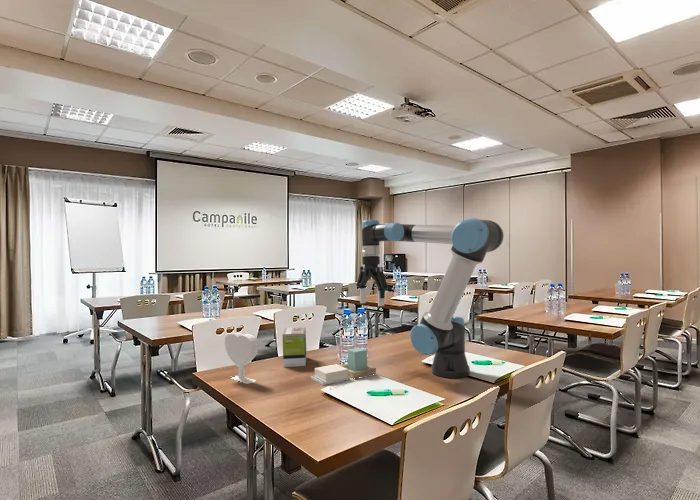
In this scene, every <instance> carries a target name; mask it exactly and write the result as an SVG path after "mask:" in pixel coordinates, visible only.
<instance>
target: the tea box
mask: <svg viewBox="0 0 700 500" xmlns="http://www.w3.org/2000/svg"><path fill="white" fill-rule="evenodd" d="M306 333H307V331H306V327H305V326H302V327H285V328H284V330H283V332H282V363H283V367H284V368H291V367H292V368H293V367H295V368H296V367H306V365H307V364H306V363H307V335H306Z"/></svg>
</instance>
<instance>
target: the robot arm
mask: <svg viewBox="0 0 700 500" xmlns="http://www.w3.org/2000/svg"><path fill="white" fill-rule="evenodd" d="M504 235H505V234H504V231H503V229H502V227H501V226H500V224H499V223H497V222H495V221H493V220H488V219H480V218H467V219H466V218H465V219H463V220H461V221H459V222H458V223H457V224H455V225H452V224H451V225H448V224H444V225H443V224H441V225H440V224H405V223H399V222H387V223H380V221H379V220H378V219H365V220H362V223H361V241H362V242H361V243H362V245H361V247H362V248H361V249H362V255H363V256H362V260H361V261H362V265H363V266H360V269H359V274H358V277H357V278H358V279H357V283H356V287H358V288H359V303H360V304H366V303H367V287H366V285H367V283H368V281H369V279H370V278H372V279H373V280H374V283H375V284H376V287H377V288H378V289H377V306H378V307H384V306H385V291H386V290H388V289H389V287H388V283H387V280H386V278H385V273H384V267H383V266H380V264H381V259H380V258H381V257H380V256H379V255H380V253H381V252H380V250H381V247H380V243H381V242H405V243H406V242H408V243H409V242H410V243H426V244H427V243H428V244H443V245H452V246H451V249H450V252H451V253H452V257H451V259H450V262H449V265H448V266H447V269H446V272H445V273H444V276H443V278H442V281H441V283H440V286H439V288H438V290H437V293H436V295H435V297H434V299H433V301H432V304H431V306H430V309H429V311H427V312H424V313H423V315H422V318H420V319H421V320H420V322H419V323H418V324H416V325H414V326H413V327H412V328H411V329H410V335H409V337H410V341H411V345H412V347H413V348H414V349H415V350H416V352H418V353H419V354H421V355H424V356H429V355H434V357H433V360H432V364H431V368H430V369H431V371H430V372H431V373H432V374H433V375H434V376H437V377H440V378H449V379H460V378H466V377H468V376H470V375H469V374H471V369H470V365H469V364H468V360H467V359H468V358H467V357H466V350H465V349H466V345H465V344H466V343H465V337H466V336H465V335H466V333H465V332H466V331H465V328H466V327H465V320H464V318H463V317H461V316H456V315H455V313H456V310H457V309H458V306H459V304H460V301H461V299H462V298H463V295H464V293H465V290H466V289H467V285H468V284H469V282H470V280H471V277H472V274H473V272H474V271H475V268H476V266H477V265H479V264H481V263H483V261H484V259H485V257H486V255H487V253H489V252H493V251H496V250H497V249H499V248H500V247H501V245H502V244H503V241H504Z"/></svg>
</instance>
